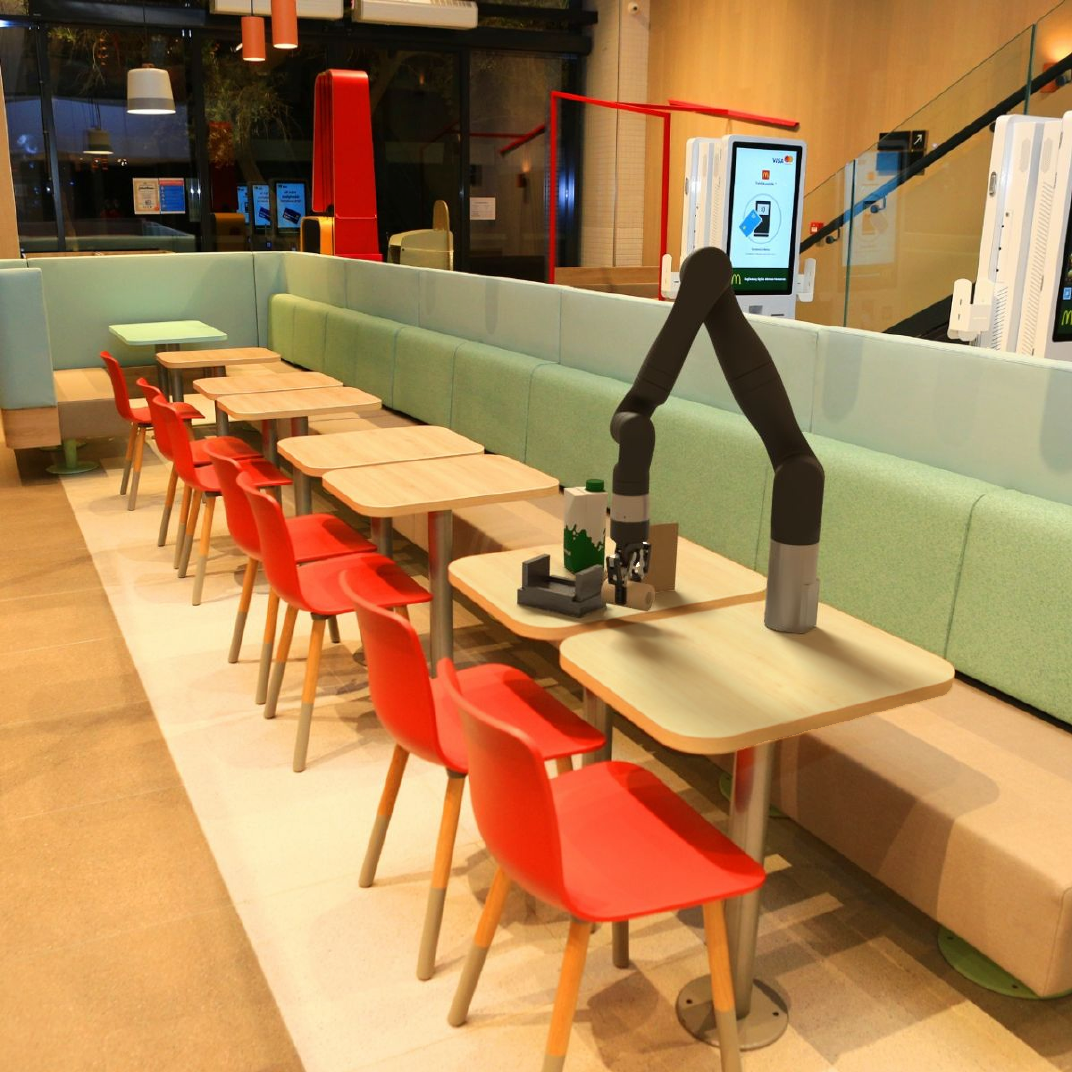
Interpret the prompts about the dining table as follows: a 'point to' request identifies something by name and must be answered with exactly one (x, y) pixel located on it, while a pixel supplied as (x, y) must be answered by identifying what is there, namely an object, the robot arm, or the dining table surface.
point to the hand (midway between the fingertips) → (628, 600)
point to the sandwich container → (662, 557)
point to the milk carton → (585, 525)
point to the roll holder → (560, 588)
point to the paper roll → (631, 595)
